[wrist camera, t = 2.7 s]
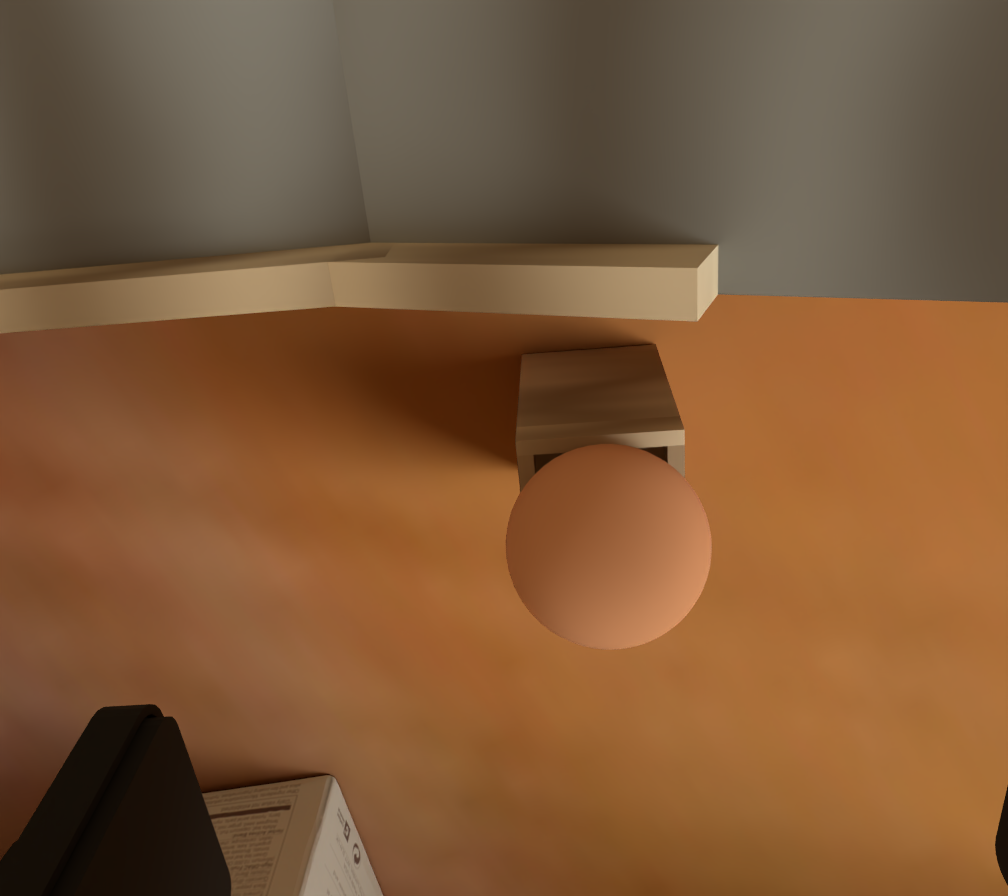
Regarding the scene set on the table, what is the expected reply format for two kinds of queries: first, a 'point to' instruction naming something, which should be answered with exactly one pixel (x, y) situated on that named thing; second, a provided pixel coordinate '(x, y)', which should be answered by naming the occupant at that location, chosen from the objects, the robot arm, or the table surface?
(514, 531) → the ball
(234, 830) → the supplement box
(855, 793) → the table surface
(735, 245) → the lane
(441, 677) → the table surface
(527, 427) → the open wooden cubby
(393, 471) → the table surface
